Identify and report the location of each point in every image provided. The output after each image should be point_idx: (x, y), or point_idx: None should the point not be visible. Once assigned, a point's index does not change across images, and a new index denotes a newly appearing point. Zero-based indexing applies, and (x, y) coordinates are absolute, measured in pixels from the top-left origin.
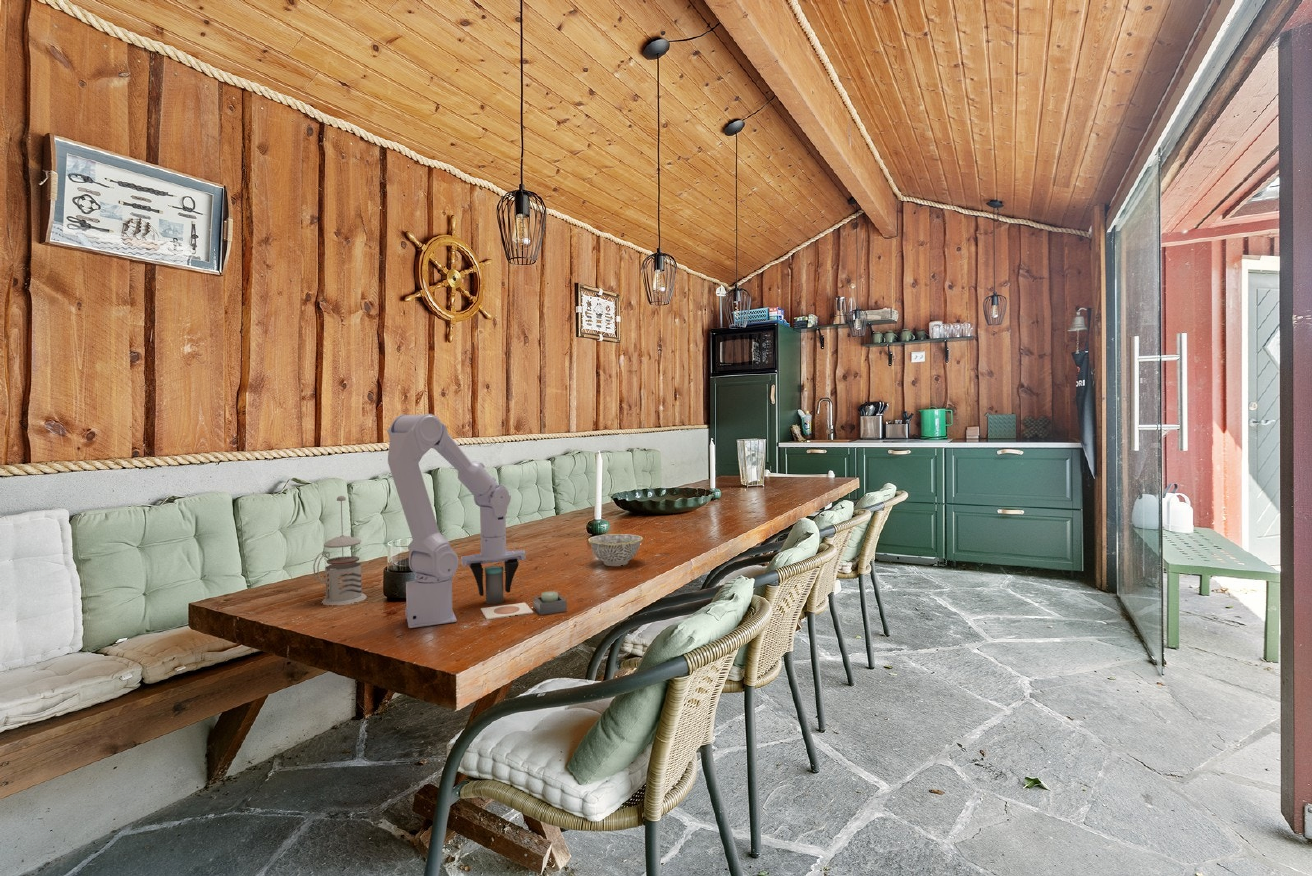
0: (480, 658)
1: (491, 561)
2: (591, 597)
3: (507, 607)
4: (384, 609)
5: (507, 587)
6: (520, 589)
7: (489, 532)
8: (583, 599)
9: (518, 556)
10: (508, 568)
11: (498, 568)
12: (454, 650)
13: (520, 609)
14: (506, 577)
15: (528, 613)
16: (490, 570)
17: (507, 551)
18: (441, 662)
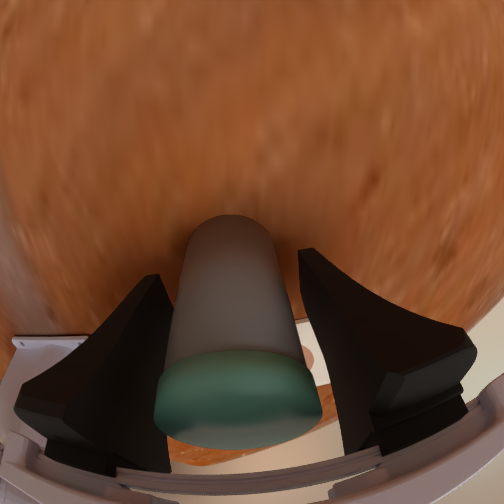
0: (221, 460)
1: (220, 488)
2: (497, 278)
3: None
4: None
5: (308, 317)
6: (385, 61)
7: None
8: (481, 291)
9: (465, 434)
10: (341, 434)
11: (274, 437)
12: (182, 450)
13: (314, 367)
14: (327, 325)
15: (325, 381)
16: (213, 446)
17: (441, 494)
18: (176, 458)
